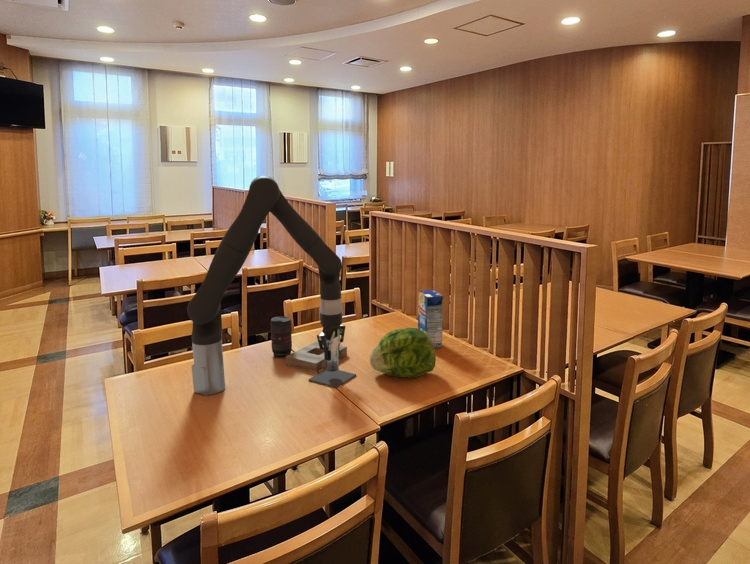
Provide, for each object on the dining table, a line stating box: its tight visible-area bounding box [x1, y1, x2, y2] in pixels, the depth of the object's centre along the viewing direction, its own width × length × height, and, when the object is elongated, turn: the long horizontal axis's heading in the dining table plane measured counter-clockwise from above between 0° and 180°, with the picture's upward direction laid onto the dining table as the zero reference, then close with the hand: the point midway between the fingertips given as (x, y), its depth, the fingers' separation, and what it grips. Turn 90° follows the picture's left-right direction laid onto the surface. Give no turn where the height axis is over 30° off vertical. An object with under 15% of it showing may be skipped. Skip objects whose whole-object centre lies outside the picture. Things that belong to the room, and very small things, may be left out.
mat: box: [308, 368, 357, 389], centre depth 175 cm, size 12×12×1 cm
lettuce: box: [369, 327, 437, 379], centre depth 176 cm, size 18×23×19 cm
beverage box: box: [417, 289, 444, 349], centre depth 206 cm, size 7×11×22 cm, turn 14°
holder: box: [285, 340, 348, 373], centre depth 191 cm, size 20×14×4 cm
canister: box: [325, 336, 340, 372], centre depth 173 cm, size 4×4×12 cm
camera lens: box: [270, 315, 293, 359], centre depth 195 cm, size 8×8×15 cm
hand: (332, 357), depth 173 cm, fingers closed on canister, 4 cm apart
